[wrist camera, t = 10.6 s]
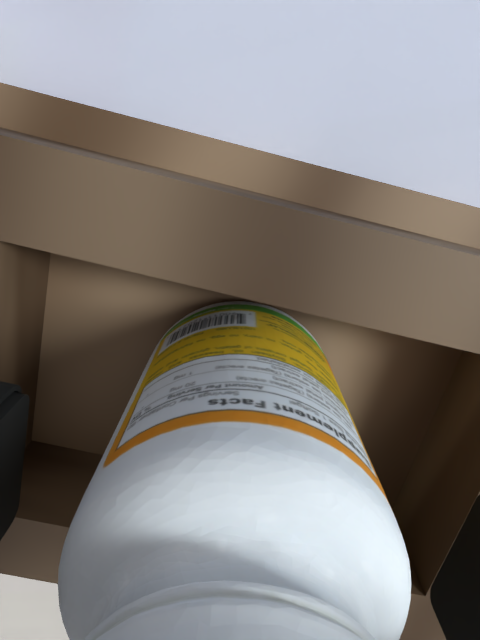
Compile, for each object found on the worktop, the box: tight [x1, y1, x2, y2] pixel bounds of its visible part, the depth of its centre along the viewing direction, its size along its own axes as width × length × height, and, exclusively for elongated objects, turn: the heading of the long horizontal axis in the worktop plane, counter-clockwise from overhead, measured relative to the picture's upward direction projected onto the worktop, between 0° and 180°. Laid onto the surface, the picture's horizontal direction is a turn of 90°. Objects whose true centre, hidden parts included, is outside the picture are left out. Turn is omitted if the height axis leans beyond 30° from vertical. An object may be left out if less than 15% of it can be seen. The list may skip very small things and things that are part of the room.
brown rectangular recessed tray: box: [0, 83, 480, 640], centre depth 13 cm, size 20×13×4 cm, turn 76°
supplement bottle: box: [58, 301, 411, 640], centre depth 9 cm, size 5×5×10 cm
